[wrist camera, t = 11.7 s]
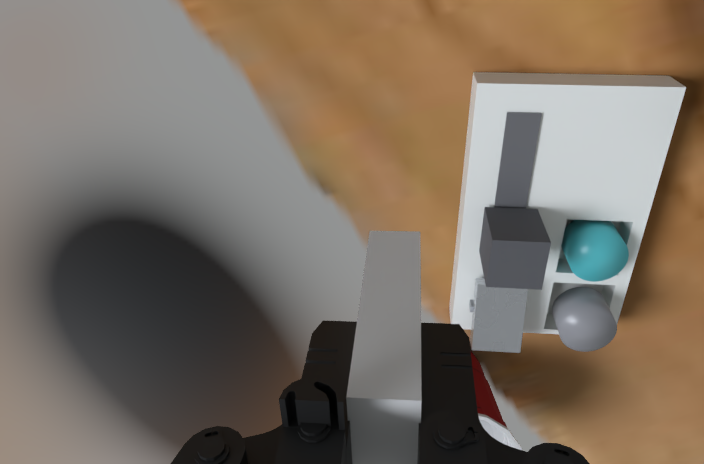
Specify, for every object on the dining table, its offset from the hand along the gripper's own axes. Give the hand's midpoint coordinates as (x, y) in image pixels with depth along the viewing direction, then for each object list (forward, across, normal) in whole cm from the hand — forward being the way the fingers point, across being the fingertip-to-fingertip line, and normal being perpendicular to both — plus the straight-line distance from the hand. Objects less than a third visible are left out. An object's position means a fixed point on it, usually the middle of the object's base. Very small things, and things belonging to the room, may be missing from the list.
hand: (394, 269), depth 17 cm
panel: (+29, +12, -13) cm, 33 cm away
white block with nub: (+24, +8, -21) cm, 33 cm away
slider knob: (+25, +8, -13) cm, 29 cm away
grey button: (+26, +15, -21) cm, 36 cm away
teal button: (+27, +15, -15) cm, 34 cm away
